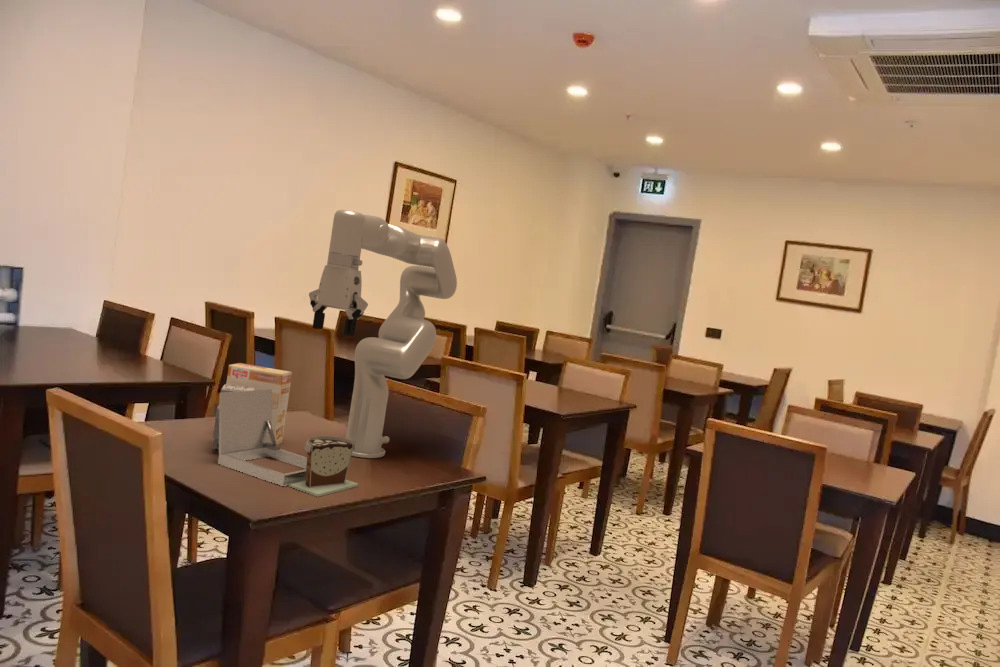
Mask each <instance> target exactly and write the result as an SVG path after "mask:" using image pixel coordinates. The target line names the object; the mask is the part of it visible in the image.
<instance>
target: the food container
mask: <svg viewBox="0 0 1000 667" xmlns="http://www.w3.org/2000/svg"><path fill="white" fill-rule="evenodd" d="M353 450H355V444H354V441H353V440H350V439H346V437H342V436H341V437H340V436H331V435H317V436H315V435H314V436H311V437H309V438H308V439H307V441H306V443H305V446H304V451H306V457H307V466H306V486H307V487H309V488H312V487H322V486H331V485H341V484H345V480H347V475H348V471H349V468H350V462H351V458H352V456H351V455H352V451H353Z"/></svg>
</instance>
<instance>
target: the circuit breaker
mask: <svg viewBox="0 0 1000 667" xmlns="http://www.w3.org/2000/svg"><path fill="white" fill-rule="evenodd" d="M253 390H255V388H253V387H244V386H241V387H238V386H236V385H227V384H226V383H224V385H223V386H222V388H221V390H220V393H223V392H238V391H253ZM212 439H213V445H212V449H213V450H215V449H218V450H217V451H219V405H218V406H217V408H216V413H215V419H214V427H213V434H212Z"/></svg>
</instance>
